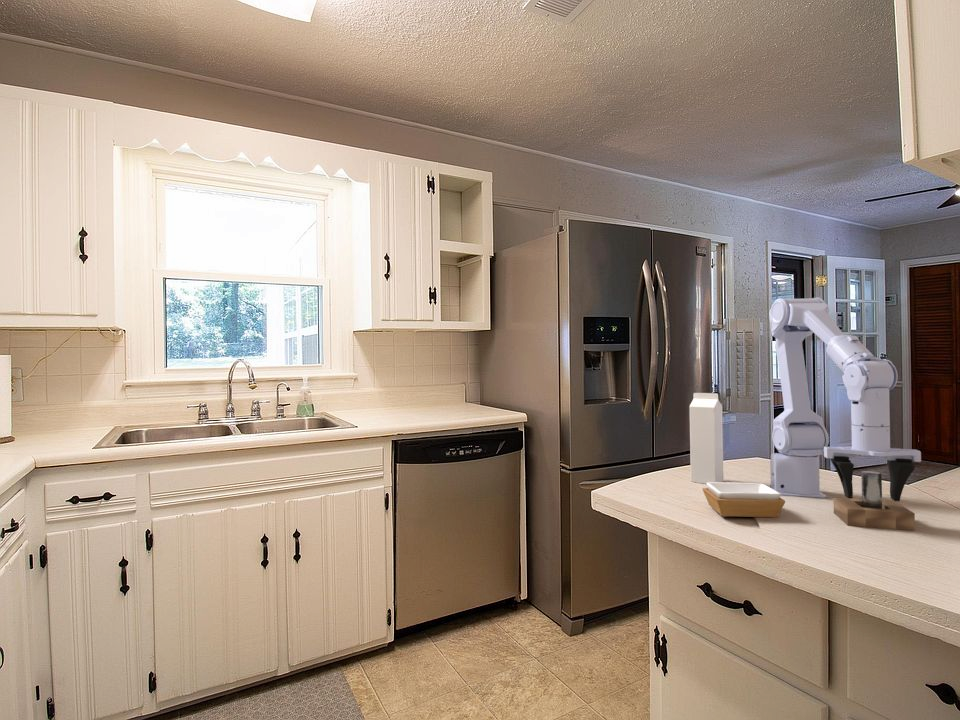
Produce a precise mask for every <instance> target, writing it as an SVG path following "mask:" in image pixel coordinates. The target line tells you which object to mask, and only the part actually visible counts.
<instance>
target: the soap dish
mask: <svg viewBox="0 0 960 720" xmlns="http://www.w3.org/2000/svg"><path fill="white" fill-rule="evenodd" d="M702 491H703V494H704V496H705V498H706V500H707V502H708V505H709V506H710V507H711V508H712V509H713V510H714V511H716V513H718V514H719V515H720V516H721V517H723V518H727V517H745V518H746V517H748V518H749V517H751V518H752V517H753V518H754V517H757V518H773V519H774V518H777V517H778V516H779V514H780V513H781V511H782V510H783V507H784V505H785V504H786V500H785V499H783V498H781V495H780V493H778V492H777V491H775V490H773V489H772V488H771V487H770V486H769V485H766V484H764V483H755V482H733V481H731V482H729V481H727V482H726V481H725V482H724V481H722V482H708V483H707V484H706V487H703V488H702Z"/></svg>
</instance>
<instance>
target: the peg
mask: <svg viewBox="0 0 960 720" xmlns="http://www.w3.org/2000/svg"><path fill="white" fill-rule="evenodd" d="M860 474H861V499H862V507H863V508H878V509H882V501H883V484H882V483H883V481H882V480H883V479H882V476H883V475H882V472H880V471H879V472H877V471H870V470H864V471H863V470H862V471H861V473H860Z"/></svg>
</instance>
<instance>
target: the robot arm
mask: <svg viewBox="0 0 960 720" xmlns="http://www.w3.org/2000/svg"><path fill="white" fill-rule="evenodd" d="M829 309H830V308H829V304H827V303H826V302H825V300H824V299H823V298H821V297H812V298H811V297H810V298H783V297H781V298H777V299H775V300H774V302H773V303H772V304H771V307H770V309H769V313H768V315H769V325H770V330H771V331H770V333H771V336H772V337H774V338H775V345H776V352H777V353H776V354H777V355H776V356H777V362H778V369H779V377H780V385H781V386H780V387H781V394H782V402H783V403H782V404H783V409H784V410H783V412H781V413H780V414H779V415H778V416H776V417H775V418H774V419H773V420H772V423H773V426H772V427H773V429H772V432H771V433H772V434H771V437H772V438H771V439H772V443H773V445H774V448H775V449H776V450H777V452H778V453H777V452H774V453H771V455H770V468H769V469H770V486H769V487H770V488H772V489H773V490H775V491H777V492H778V493H780V496H789V497H802V498H803V497H804V498H805V497H806V498H817V499H818V498H822V499H823V498H824V499H826V498H827V495H826V494H825V493H823V492H822V491H821V490H820V489H821V488H820V486H821V485H820V484H821V483H820V456H824V458H826V459H830V462H831V464H832V465H833V467H834V469H835V470H836V473H837V474H838V477H839V480H840V482H841V486H842V488H843V494H844V497H846V498H848V499H854V498H853V496H854V491H853V489H854V488H853V487H854V486H853V475H854V473H853V472H854V467H855V464H854V463H853V462H851V461H852V460H850V459H853V460H874V461H875V460H876V461H879V460H880V461H881V460H882V461H887V466H888V471H889V481H890V483H889V496H890V497H889V498H890V500H892V501H895V502H901V496H902V493H903V491H904V487H905V485H906V483H907V481H908V479H909V478H910V476H911V474H912V473H913V472H914V471H915V467H916V464H915V463H921V462H922V452H921V451H920V450H918V449H913V448H912V449H911V448H910V449H909V448H908V449H907V448H895V447H891V423H890V422H891V419H890V417H891V415H890V412H891V411H890V391H891V390H893V389H894V388H895V387H896V385H897V383H898V378H899V376H898V375H899V374H898V370H897V368H896V366H895V365H894V363H893V362H892V361H891V360H889V359H884V358H883V359H881V358H880V357H876V356H874V354H873V353H872V352H871V351H870V350H869V349H868V348H867V347H866V346H865V345H864V344H862V342H861V341H860V338H859V337H858V336H857V335H852V334H844V333H843V332H842V329H840V328H839V326H838V325H837V323H835V321H834V320H833V319H832V318H831V316H830V314H829V311H830V310H829ZM812 334H814V335H815V336H817V337H818V338H819V339H820V340H821V341H822V342H823V343H824V344H825V345H826V348H825V351H826V354H827V356H828V357H829V359H831V361H832V362H833V363H834V364H835V365H836V366H837V367H838V368H839V370H840V371H841V372H842V373H843V374H842V376H841V377H842V382H843V385H844V386H845V389H846V392H847V398H848V400H849V401H850V411H851V414H850V417H851V418H850V419H851V421H850V422H851V425H850V426H851V428H850V429H851V446H828V445H829V442H830V437H829V433H828V431H827V430H826V429H827V428H826V427H825V423H824V418H823V417H822V416H820V415H819V414H817V413H816V412H814V411H813V409H812V408H811V407H812V406H811V400H810V394H809V393H810V392H809V386H808V378H807V376H808V375H807V371H806V370H807V369H806V364H805V363H806V362H805V354H804V349H803V347H804V346H803V341H804V340H805V339H806V338H807V337H810V336H811V335H812ZM796 423H797V424H796Z"/></svg>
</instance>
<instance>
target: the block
mask: <svg viewBox="0 0 960 720" xmlns="http://www.w3.org/2000/svg"><path fill="white" fill-rule="evenodd" d="M833 514H834V515H836V517H838V518H839V519H840V521H842V522H843V523H844V524H845V525H847V526H849V527H861V528H862V527H863V528H878V529H879V528H880V529H888V530H889V529H891V530H905V531H916V519H915V516H916V515H915V512H913V511H911V510H910V509H908V508H907V507H905V506H903V505H902V504H900V503H899V502H898V501H894V500H882V509H878V508H863V507H862V498H859V499H858V498H853V499H852V498H847V497H846V498H844V497H843V498H842V497H833Z"/></svg>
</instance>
